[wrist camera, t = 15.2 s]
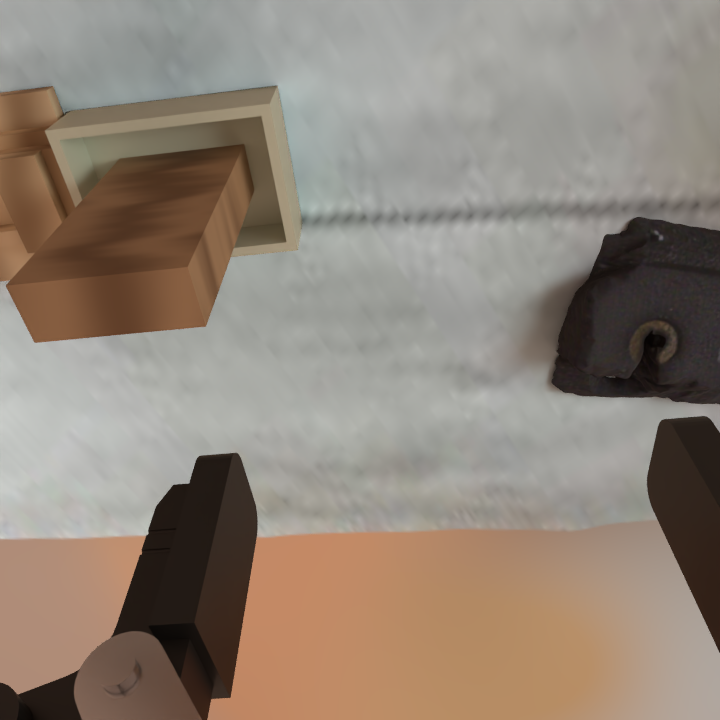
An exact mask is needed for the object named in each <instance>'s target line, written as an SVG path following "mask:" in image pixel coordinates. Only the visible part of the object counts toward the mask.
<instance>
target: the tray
mask: <svg viewBox="0 0 720 720" xmlns="http://www.w3.org/2000/svg"><path fill="white" fill-rule="evenodd" d="M45 133H46V135H47V138H48V140H49V143H50V145H51V148H52V150H53V153H54V155H55V158H56V160H57V163H58V165H59V168H60V170H61V173H62V175H63V178H64V180H65V183H66V185H67V188H68V190H69V193H70V195H71V198H72V200H73V203H74V205H75V208H76V207H77V206H78V204H79V203H80V202H81V201H82V200H83V199H84V198H85V197H86V196H87V194H88V193H89V192H90V191H91V190H92V189H93V188H94V187H95V185H96V184H97V183H98V182H99V181H100V180H101V179H102V178H103V177H104V175H105V174H106V173H107V172H108V171H109V170H110V169H111V168H112V166H113V165H114V164H115V163H116V162H117V161H118V160H119V159H120V158H128V157H136V156H145V155H154V154H162V153H171V152H180V151H188V150H197V149H206V148H214V147H223V146H232V145H240V144H244V145H245V150H246V154H247V159H248V163H249V168H250V172H251V177H252V181H253V186H254V193H253V196H252V199H251V201H250V204H249V207H248V210H247V213H246V215H245V218H244V221H243V224H242V227H241V229H240V232H239V235H238V238H237V241H236V243H235V246H234V249H233V252H232V255H231V257H235V256H245V255H255V254H264V253H274V252H284V251H293V250H298V246H299V240H300V234H301V229H302V218H301V213H300V207H299V202H298V196H297V191H296V185H295V180H294V174H293V168H292V163H291V157H290V152H289V146H288V141H287V135H286V130H285V124H284V119H283V113H282V108H281V102H280V97H279V91H278V86H270V87H262V88H254V89H246V90H238V91H229V92H221V93H213V94H205V95H197V96H188V97H180V98H172V99H164V100H156V101H148V102H139V103H131V104H123V105H115V106H107V107H98V108H90V109H82V110H74V111H70V112H68V113H67V114H66V115H65V116H63V117H62V118H61V119H59V120H58V121H57V122H55V123H54V124H53V125H51V126H50V127H49V128H48V129H46V130H45Z"/></svg>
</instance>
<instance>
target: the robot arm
mask: <svg viewBox="0 0 720 720" xmlns="http://www.w3.org/2000/svg"><path fill="white" fill-rule="evenodd" d="M647 488H648V495H649V499H650V503H651V506H652V508H653V511H654V513H655V515H656V517H657V519H658V521H659V524H660V526H661V528H662V530H663V532H664V534H665V536H666V539H667V541H668V543H669V545H670V547H671V549H672V551H673V553H674V556H675V558H676V560H677V562H678V564H679V566H680V569H681V571H682V573H683V575H684V577H685V579H686V581H687V584H688V586H689V588H690V590H691V592H692V594H693V596H694V598H695V601H696V603H697V605H698V607H699V609H700V611H701V614H702V616H703V618H704V620H705V622H706V624H707V626H708V629H709V631H710V633H711V635H712V637H713V639H714V641H715V644H716V646H717V648H718V650H719V652H720V433H719V431H718V430H717V428H716V427H715V425H714V424H713V422H712V421H711V420H710V419H709V418H708V417H705V416H700V417H688V418H675V419H664V420H662V421H661V422H660V423H659V426H658V429H657V434H656V439H655V443H654V448H653V452H652V457H651V462H650V466H649V471H648V476H647ZM148 531H149V534H148V535H147V536H146V539H145V542H144V545H143V548H142V555H140V557H139V560H138V563H137V566H136V569H135V572H134V575H133V578H132V581H131V584H130V587H129V590H128V593H127V596H126V599H125V602H124V605H123V608H122V611H121V614H120V617H119V620H118V623H117V626H116V628H115V630H114V633H113V635H112V637H111V638H110V639H108V640H106V641H105V642H103V643H102V644H101V645H99V646H98V647H97V648H96V649H95V650H94V651H93V652H92V653H91V654H90V655H89V656H88V657H87V659H86V660H85V661H84V663H83V664H82V666H81V668H80V669H79V670H78V671H76V672H74V673H72V674H70V675H68V676H66V677H63V678H61V679H58V680H56V681H53V682H50V683H48V684H45V685H42V686H40V687H37V688H35V689H32V690H29V691H26V692H24V693H21V694H19V695H17V694H16V692H15V691H14V690H13V689H12V688H11V687H9V686H8V685H6V684H3V683H0V720H207V718H208V712H209V707H210V702H211V699H216V698H230V697H231V691H232V685H233V679H234V672H235V666H236V659H237V654H238V648H239V641H240V636H241V629H242V623H243V617H244V611H245V605H246V599H247V593H248V586H249V580H250V574H251V568H252V562H253V556H254V550H255V544H256V538H257V510H256V505H255V501H254V498H253V495H252V492H251V489H250V486H249V482H248V479H247V476H246V473H245V470H244V467H243V463H242V460H241V458H240V456H239V454H238V453H229V454H216V455H204V456H199V457H198V458H197V460H196V463H195V466H194V469H193V473H192V476H191V479H190V483H189V484H178V485H173V486H172V487H171V489H170V490H169V491H168V492H167V494H166V495H165V496H164V497H163V499H162V500H161V501H160V502H159V504H158V505H157V506H156V508H155V511H154V514H153V517H152V520H151V523H150V527H149V530H148Z"/></svg>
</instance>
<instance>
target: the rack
mask: <svg viewBox="0 0 720 720" xmlns="http://www.w3.org/2000/svg"><path fill="white" fill-rule="evenodd" d="M63 116H64V114H63V111H62V109H61V106H60V104H59V101H58V98H57V96H56V93H55V90H54V88H53V86H51V87H43V88H35V89H27V90H19V91H11V92H3V93H0V281H7V280H11V279H12V278H13V277H14V276H15V275H16V274H17V273H18V271H19V270H20V269H21V268H22V267H23V266H24V265H25V264H26V262H27V261H28V260H29V259H30V258H31V257H32V256H33V255H34V254H35V252H36V251H37V250H38V249H39V248H40V247H41V246H42V245H43V243H44V242H45V241H46V240H47V239H48V238H49V237H50V236H51V235H52V233H53V232H54V231H55V230H56V229H57V228H58V227H59V226H60V225H61V223H62V222H63V221H64V220H65V219H66V218H67V217H68V216H69V214H70V213H71V212H72V211H73V210H74V209H75V205H74V203H73V200H72V198H71V195H70V193H69V190H68V188H67V185H66V183H65V180H64V178H63V175H62V173H61V170H60V168H59V165H58V163H57V160H56V158H55V155H54V153H53V150H52V148H51V145H50V143H49V140H48V138H47V135H46V133H45V130H46V129H48V128H49V127H50V126H51V125H53V124H54V123H55V122H57V121H58V120H59V119H61V118H62V117H63Z"/></svg>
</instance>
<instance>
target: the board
mask: <svg viewBox="0 0 720 720" xmlns="http://www.w3.org/2000/svg"><path fill="white" fill-rule="evenodd" d="M253 193H254V186H253V181H252V177H251V172H250V168H249V163H248V159H247V154H246V150H245V145H244V144H240V145H232V146H223V147H214V148H206V149H197V150H188V151H180V152H171V153H162V154H154V155H145V156H136V157H128V158H120V159H119V160H118V161H117V162H116V163H115V164H114V165H113V166H112V168H111V169H110V170H109V171H108V172H107V173H106V174H105V175H104V177H103V178H102V179H101V180H100V181H99V182H98V183H97V184H96V185H95V187H94V188H93V189H92V190H91V191H90V192H89V193H88V194H87V196H86V197H85V198H84V199H83V200H82V201H81V202H80V203H79V204H78V206H77V207H76V208H75V209H74V210H73V211H72V212H71V213H70V214H69V216H68V217H67V218H66V219H65V220H64V221H63V222H62V223H61V225H60V226H59V227H58V228H57V229H56V230H55V231H54V232H53V233H52V235H51V236H50V237H49V238H48V239H47V240H46V241H45V242H44V243H43V245H42V246H41V247H40V248H39V249H38V250H37V251H36V252H35V254H34V255H33V256H32V257H31V258H30V259H29V260H28V261H27V262H26V264H25V265H24V266H23V267H22V268H21V269H20V270H19V271H18V273H17V274H16V275H15V276H14V277H13V278H12V279H11V280H10V281H9V283H8V284H7V285H6V287H7V289H8V291H9V293H10V295H11V297H12V299H13V301H14V303H15V305H16V307H17V309H18V311H19V313H20V315H21V317H22V319H23V321H24V323H25V325H26V327H27V329H28V331H29V332H30V334H31V336H32V338H33V340H34V342H35V343H37V342H47V341H58V340H68V339H79V338H89V337H100V336H110V335H121V334H131V333H142V332H152V331H163V330H173V329H184V328H194V327H205V326H206V325H207V322H208V319H209V316H210V313H211V311H212V308H213V305H214V302H215V299H216V297H217V294H218V291H219V288H220V285H221V283H222V280H223V277H224V274H225V271H226V269H227V266H228V263H229V260H230V257H231V255H232V252H233V249H234V246H235V243H236V241H237V238H238V235H239V232H240V229H241V227H242V224H243V221H244V218H245V215H246V213H247V210H248V207H249V204H250V201H251V199H252V196H253Z"/></svg>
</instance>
